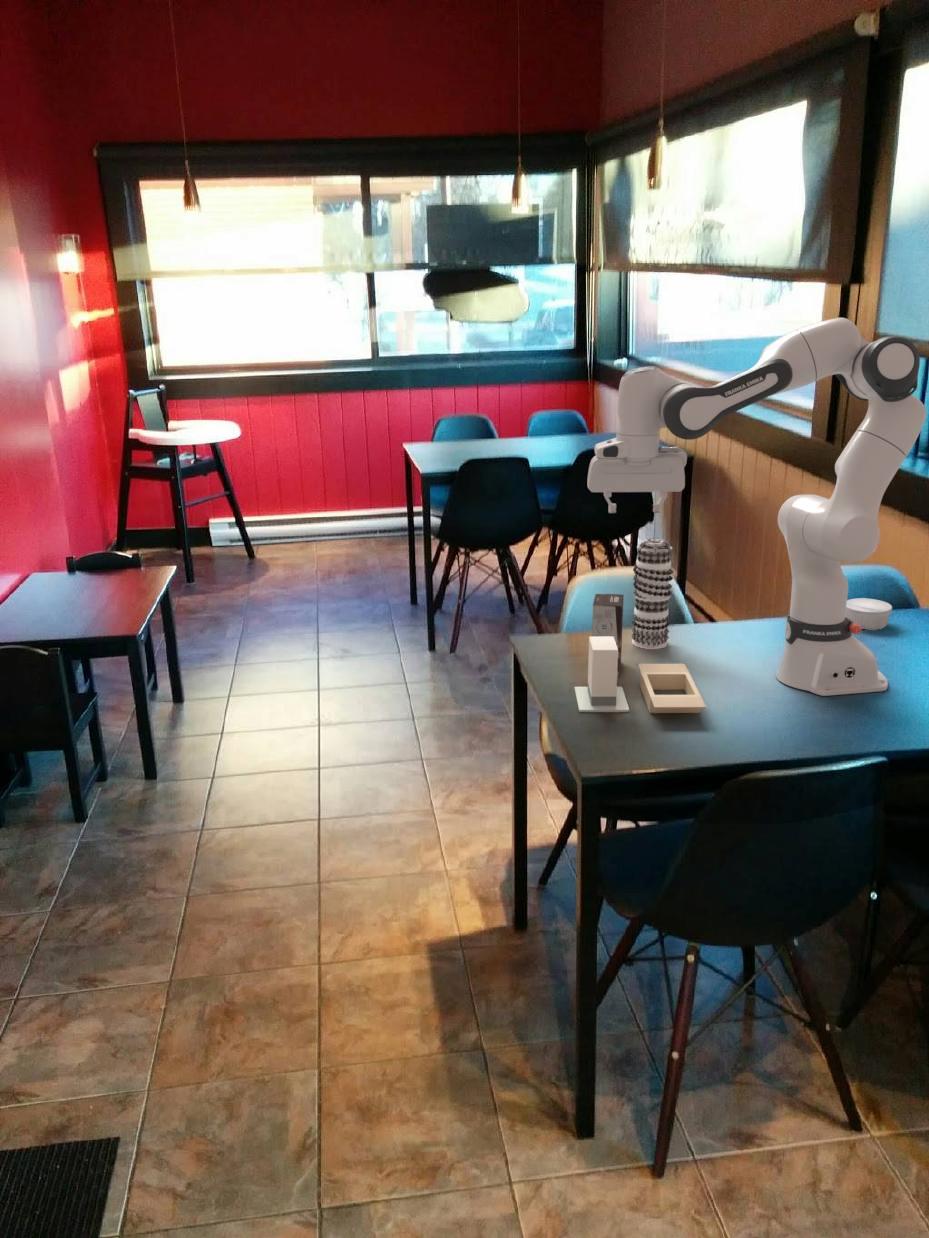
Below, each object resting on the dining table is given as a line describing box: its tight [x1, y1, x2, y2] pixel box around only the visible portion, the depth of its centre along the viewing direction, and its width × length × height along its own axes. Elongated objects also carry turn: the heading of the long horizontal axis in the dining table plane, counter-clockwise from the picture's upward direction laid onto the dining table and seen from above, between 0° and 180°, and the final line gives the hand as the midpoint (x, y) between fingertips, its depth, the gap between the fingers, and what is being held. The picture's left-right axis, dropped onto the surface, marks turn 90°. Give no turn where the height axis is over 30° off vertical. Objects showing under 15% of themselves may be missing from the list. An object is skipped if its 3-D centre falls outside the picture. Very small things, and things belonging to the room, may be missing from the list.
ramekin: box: [845, 597, 893, 631], centre depth 247 cm, size 11×11×5 cm
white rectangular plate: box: [573, 686, 630, 713], centre depth 206 cm, size 10×12×1 cm
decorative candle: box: [631, 538, 674, 650], centre depth 233 cm, size 9×9×25 cm
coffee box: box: [591, 593, 624, 677], centre depth 220 cm, size 9×6×16 cm
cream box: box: [587, 635, 618, 706], centre depth 204 cm, size 5×8×12 cm, turn 179°
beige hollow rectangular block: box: [637, 663, 707, 714], centre depth 205 cm, size 10×23×4 cm, turn 179°
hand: (634, 512), depth 212 cm, fingers open, 8 cm apart
